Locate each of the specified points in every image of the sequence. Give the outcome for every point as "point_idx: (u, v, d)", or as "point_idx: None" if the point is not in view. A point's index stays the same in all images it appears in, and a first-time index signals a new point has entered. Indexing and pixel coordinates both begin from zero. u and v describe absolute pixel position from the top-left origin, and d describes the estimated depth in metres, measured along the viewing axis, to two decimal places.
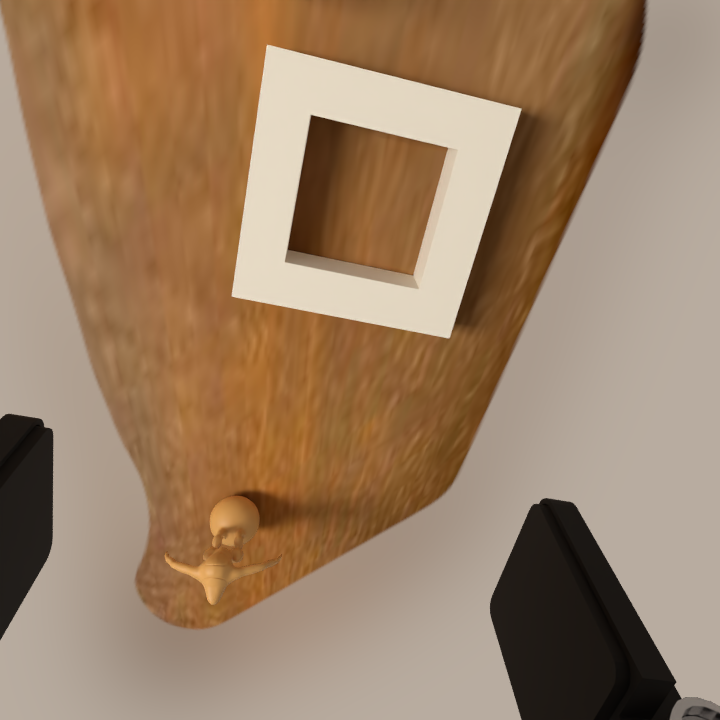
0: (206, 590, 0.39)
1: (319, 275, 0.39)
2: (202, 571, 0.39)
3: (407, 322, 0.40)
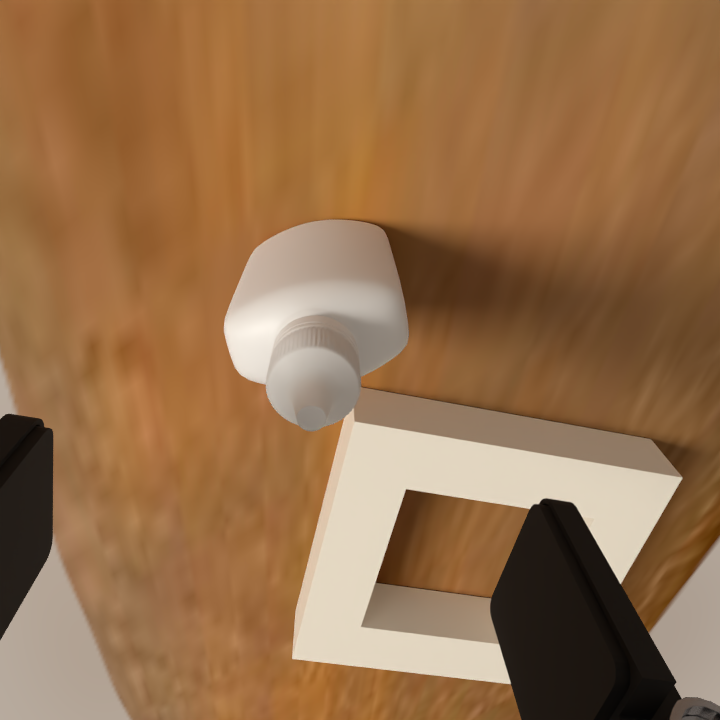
0: None
1: (403, 638, 0.31)
2: None
3: (508, 677, 0.32)
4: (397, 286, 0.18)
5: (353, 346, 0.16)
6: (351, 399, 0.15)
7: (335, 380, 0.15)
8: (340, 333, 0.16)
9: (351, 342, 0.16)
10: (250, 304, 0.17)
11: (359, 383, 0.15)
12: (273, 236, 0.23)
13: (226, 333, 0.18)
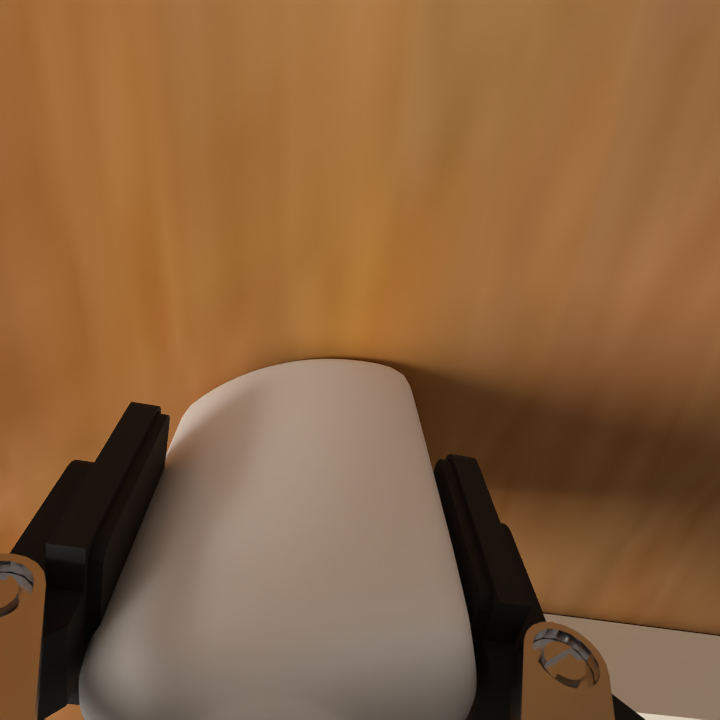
0: None
1: None
2: None
3: None
4: (455, 592, 0.08)
5: None
6: None
7: None
8: None
9: None
10: (129, 653, 0.08)
11: None
12: (219, 388, 0.14)
13: (80, 705, 0.08)
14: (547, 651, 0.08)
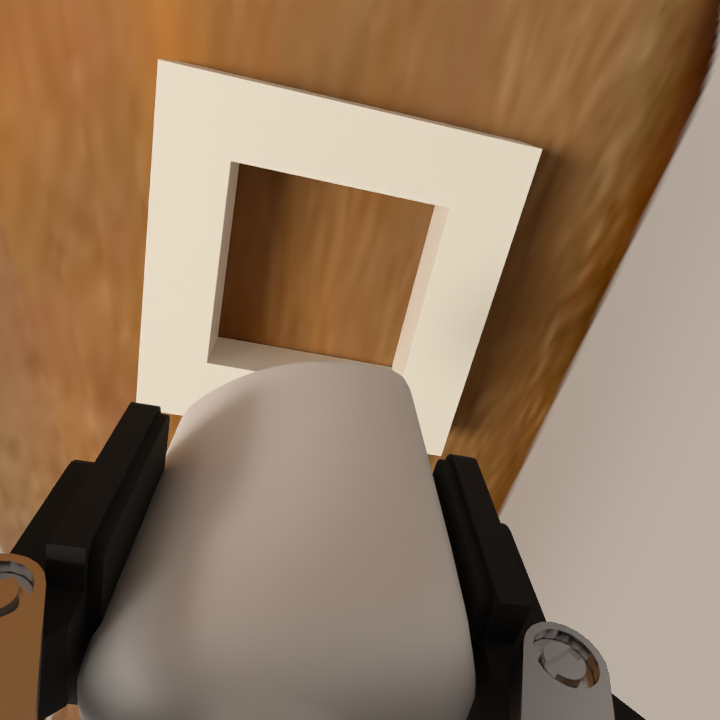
0: None
1: None
2: None
3: None
4: (454, 595, 0.08)
5: None
6: None
7: None
8: None
9: None
10: (127, 656, 0.08)
11: None
12: (218, 389, 0.14)
13: (79, 708, 0.08)
14: (547, 651, 0.08)
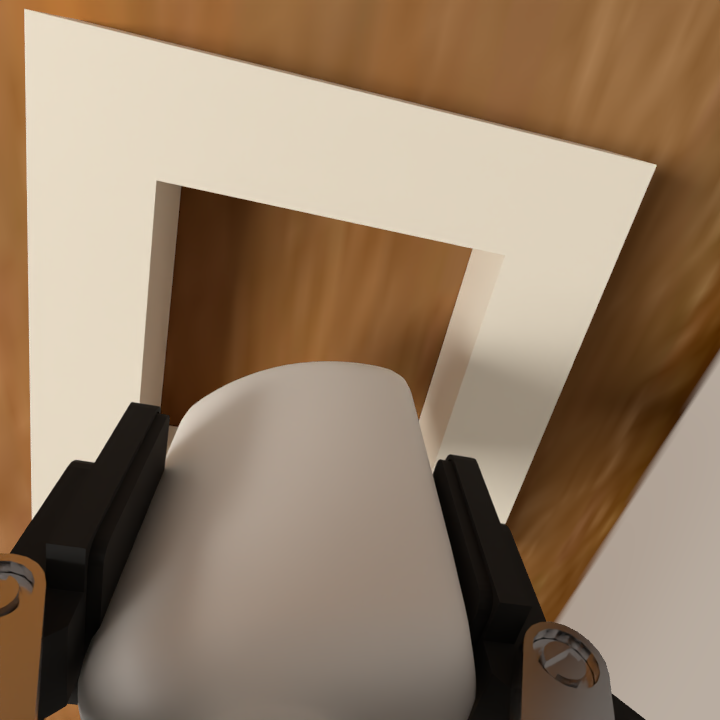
0: None
1: None
2: None
3: None
4: (454, 596, 0.08)
5: None
6: None
7: None
8: None
9: None
10: (128, 658, 0.08)
11: None
12: (219, 390, 0.14)
13: (79, 710, 0.08)
14: (547, 651, 0.08)
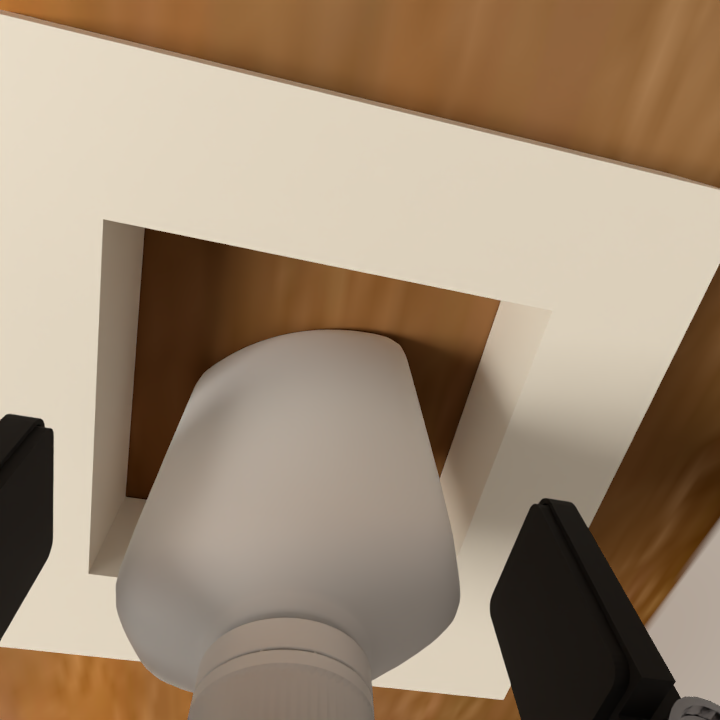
0: None
1: None
2: None
3: (405, 676, 0.17)
4: (440, 513, 0.09)
5: (362, 694, 0.08)
6: None
7: None
8: (334, 673, 0.07)
9: (357, 686, 0.08)
10: (160, 561, 0.09)
11: None
12: (230, 356, 0.15)
13: (117, 609, 0.09)
14: None
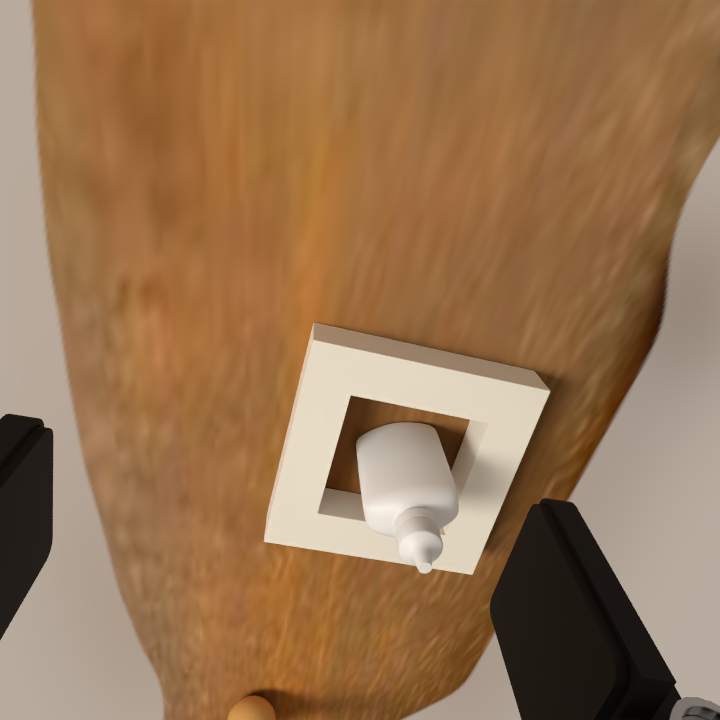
0: None
1: (350, 524, 0.40)
2: None
3: (432, 562, 0.42)
4: (454, 485, 0.34)
5: (437, 524, 0.32)
6: (438, 554, 0.31)
7: (432, 546, 0.31)
8: (431, 519, 0.32)
9: (436, 522, 0.32)
10: (380, 496, 0.34)
11: (442, 546, 0.31)
12: (370, 431, 0.40)
13: (366, 510, 0.34)
14: None
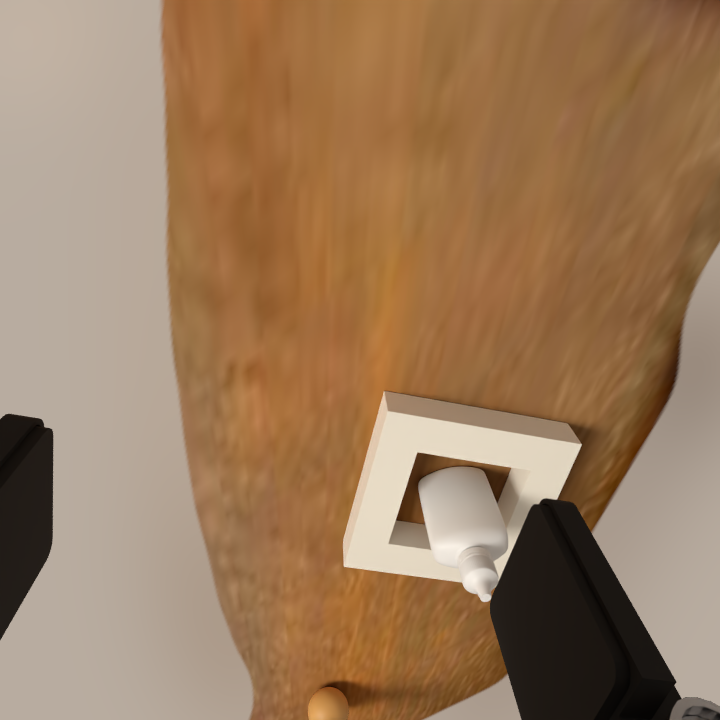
0: None
1: (415, 551, 0.48)
2: None
3: None
4: (504, 526, 0.42)
5: (492, 560, 0.40)
6: (495, 584, 0.40)
7: (490, 580, 0.39)
8: (488, 556, 0.40)
9: (492, 559, 0.40)
10: (445, 536, 0.42)
11: None
12: (430, 475, 0.48)
13: (433, 547, 0.42)
14: None
